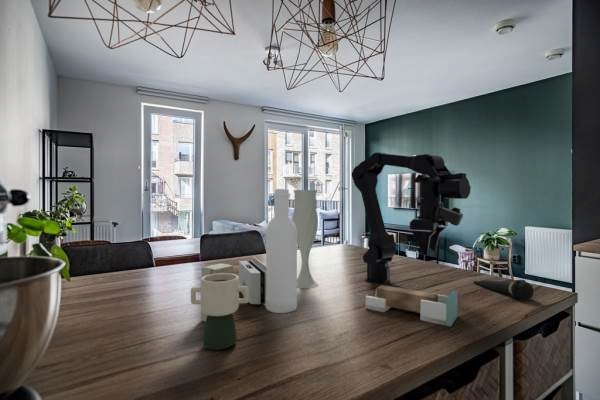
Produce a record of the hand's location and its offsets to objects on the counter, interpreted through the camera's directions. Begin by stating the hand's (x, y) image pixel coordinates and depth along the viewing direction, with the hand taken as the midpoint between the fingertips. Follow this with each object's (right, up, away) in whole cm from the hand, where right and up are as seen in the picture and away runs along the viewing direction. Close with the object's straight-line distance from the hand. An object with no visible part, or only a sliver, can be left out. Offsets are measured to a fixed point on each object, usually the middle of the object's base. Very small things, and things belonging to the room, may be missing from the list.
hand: (429, 252), depth 97 cm
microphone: (+23, -13, +3) cm, 26 cm away
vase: (-36, -12, +10) cm, 39 cm away
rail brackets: (-11, -12, -14) cm, 22 cm away
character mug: (-52, -13, -33) cm, 63 cm away
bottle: (-42, -12, -12) cm, 45 cm away
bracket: (-50, -12, -4) cm, 52 cm away
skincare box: (-56, -12, -19) cm, 61 cm away
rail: (-11, -11, -14) cm, 21 cm away
